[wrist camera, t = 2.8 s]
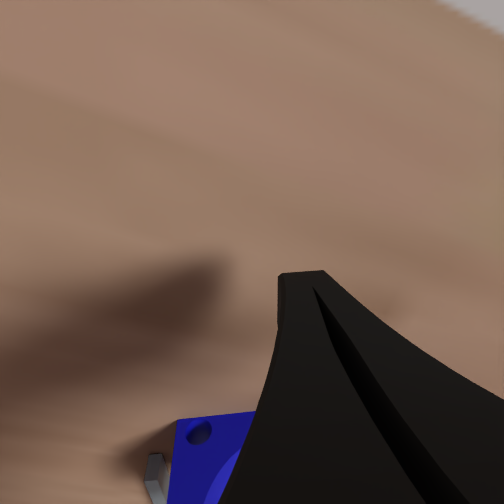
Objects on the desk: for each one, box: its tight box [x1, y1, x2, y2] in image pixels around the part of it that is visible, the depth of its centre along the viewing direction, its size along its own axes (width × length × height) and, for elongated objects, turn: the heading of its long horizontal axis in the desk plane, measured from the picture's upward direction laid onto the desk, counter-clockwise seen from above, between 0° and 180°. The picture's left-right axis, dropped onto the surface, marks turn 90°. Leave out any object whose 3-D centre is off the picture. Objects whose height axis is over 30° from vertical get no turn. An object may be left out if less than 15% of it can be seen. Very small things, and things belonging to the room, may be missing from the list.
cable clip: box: [167, 411, 256, 504], centre depth 17 cm, size 12×4×6 cm, turn 93°
